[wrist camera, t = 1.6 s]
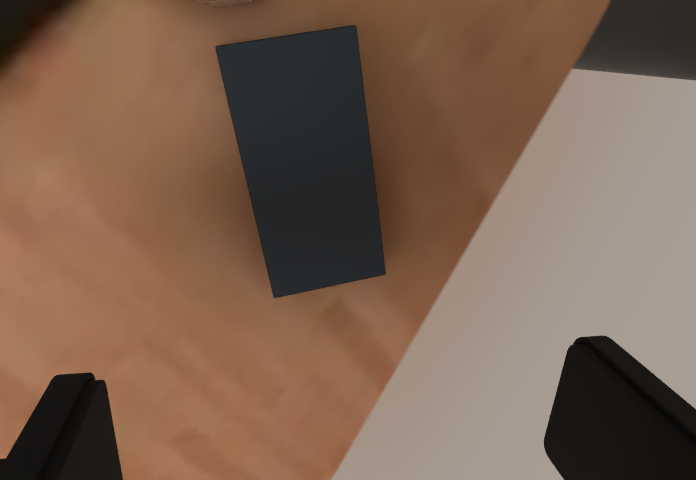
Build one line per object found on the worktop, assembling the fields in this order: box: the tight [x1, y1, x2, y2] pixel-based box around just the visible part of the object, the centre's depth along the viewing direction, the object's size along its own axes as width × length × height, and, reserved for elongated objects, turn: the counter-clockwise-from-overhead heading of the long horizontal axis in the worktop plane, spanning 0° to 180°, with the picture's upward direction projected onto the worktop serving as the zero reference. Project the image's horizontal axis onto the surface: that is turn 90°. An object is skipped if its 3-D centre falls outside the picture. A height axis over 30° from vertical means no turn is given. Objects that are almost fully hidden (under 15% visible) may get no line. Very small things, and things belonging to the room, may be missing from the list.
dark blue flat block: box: [216, 25, 386, 298], centre depth 25 cm, size 6×13×2 cm, turn 8°
